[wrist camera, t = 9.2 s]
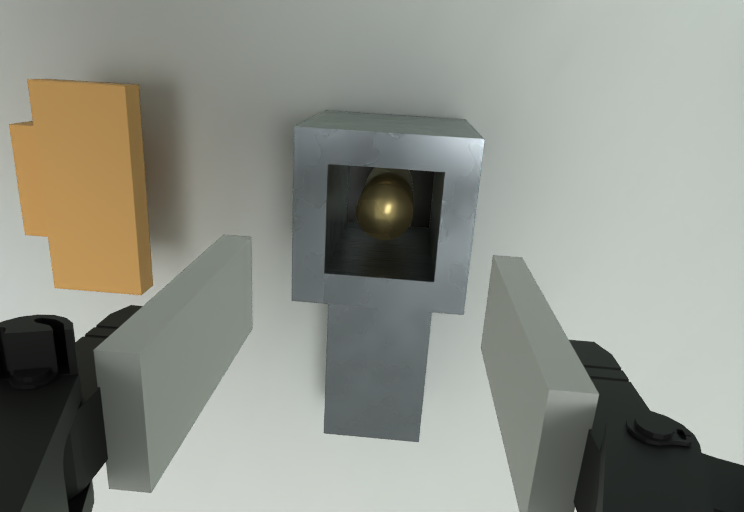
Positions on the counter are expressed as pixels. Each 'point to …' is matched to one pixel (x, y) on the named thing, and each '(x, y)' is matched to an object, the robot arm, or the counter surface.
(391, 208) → the pin
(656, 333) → the counter surface
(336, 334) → the link
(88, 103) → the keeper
